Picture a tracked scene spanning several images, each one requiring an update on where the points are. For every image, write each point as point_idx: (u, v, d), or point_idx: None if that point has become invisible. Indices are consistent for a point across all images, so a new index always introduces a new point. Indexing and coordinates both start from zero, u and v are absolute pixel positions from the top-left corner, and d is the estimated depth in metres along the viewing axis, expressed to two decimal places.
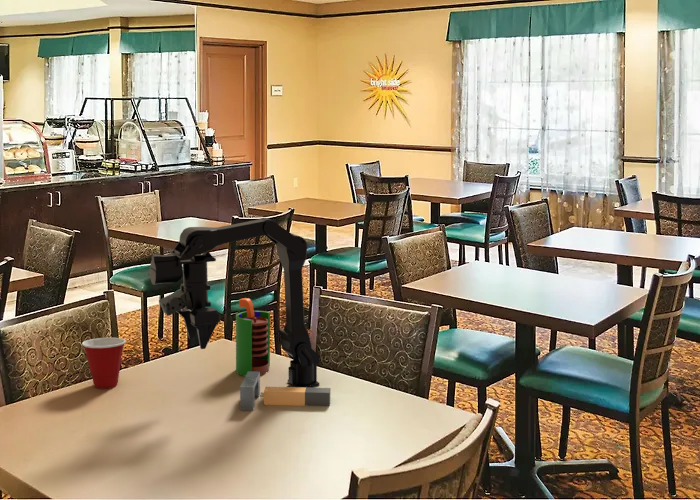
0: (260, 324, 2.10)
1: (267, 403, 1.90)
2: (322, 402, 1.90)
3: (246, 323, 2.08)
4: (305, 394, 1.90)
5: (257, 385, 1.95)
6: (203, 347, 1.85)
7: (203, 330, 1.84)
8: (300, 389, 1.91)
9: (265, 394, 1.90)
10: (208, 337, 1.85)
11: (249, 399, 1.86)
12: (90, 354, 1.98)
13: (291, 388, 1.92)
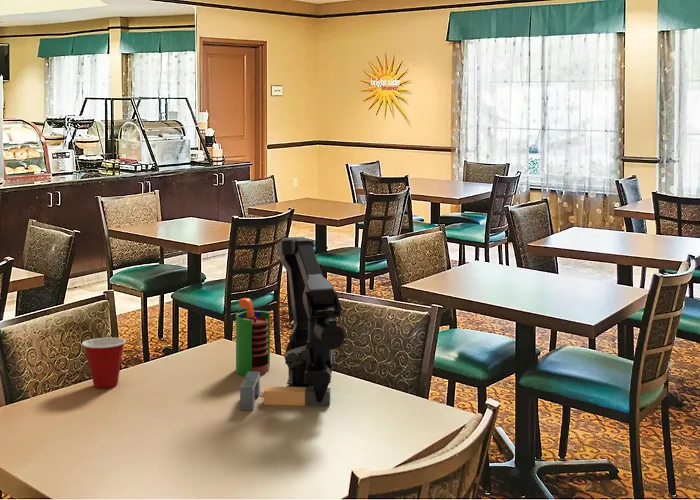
0: (260, 324, 2.10)
1: (267, 403, 1.90)
2: (322, 401, 1.90)
3: (246, 323, 2.08)
4: (305, 394, 1.90)
5: (257, 385, 1.95)
6: (319, 400, 1.89)
7: (318, 385, 1.88)
8: (300, 389, 1.91)
9: (265, 394, 1.90)
10: (323, 392, 1.88)
11: (249, 399, 1.86)
12: (90, 354, 1.98)
13: (291, 388, 1.92)
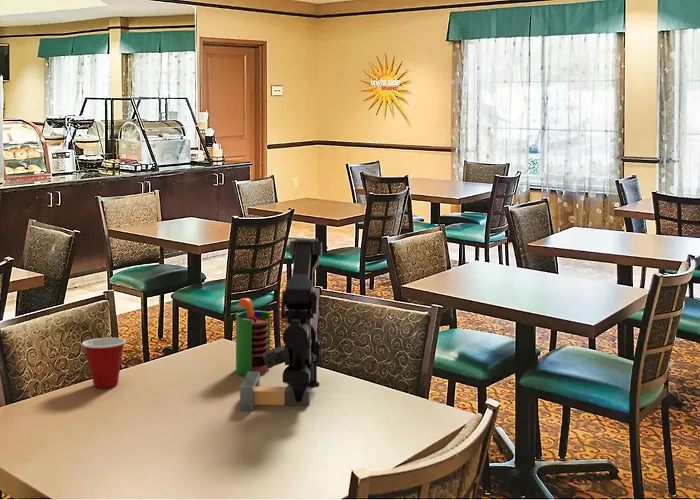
0: (260, 324, 2.10)
1: None
2: (301, 401, 1.90)
3: (246, 323, 2.08)
4: (285, 393, 1.90)
5: (257, 385, 1.95)
6: (298, 400, 1.89)
7: (297, 384, 1.88)
8: (279, 389, 1.91)
9: None
10: (302, 391, 1.88)
11: (249, 399, 1.86)
12: (90, 354, 1.98)
13: (271, 387, 1.92)
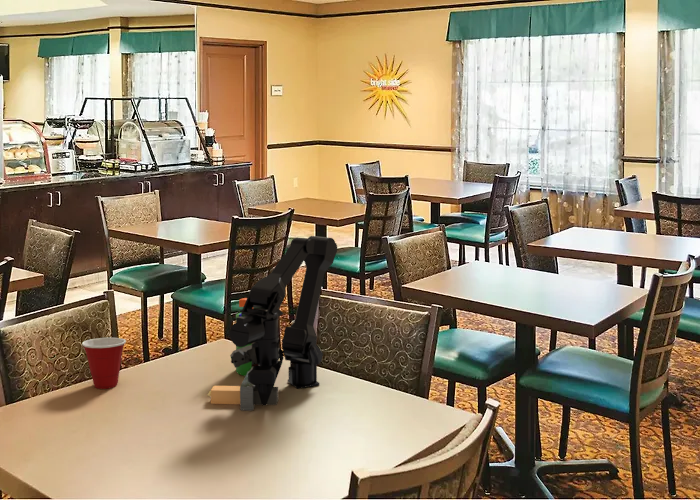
0: None
1: (214, 402, 1.91)
2: (269, 400, 1.90)
3: None
4: None
5: None
6: (264, 403, 1.87)
7: (262, 388, 1.85)
8: None
9: (212, 393, 1.90)
10: (268, 395, 1.86)
11: (249, 399, 1.86)
12: (90, 354, 1.98)
13: (239, 387, 1.93)
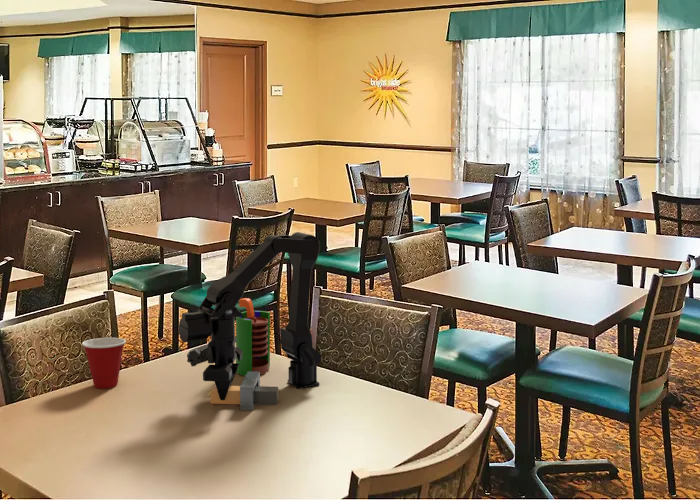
0: (260, 324, 2.10)
1: (214, 402, 1.91)
2: (269, 400, 1.90)
3: (246, 323, 2.08)
4: None
5: (257, 385, 1.95)
6: (222, 398, 1.90)
7: (220, 383, 1.88)
8: None
9: (212, 393, 1.90)
10: (226, 390, 1.89)
11: (249, 399, 1.86)
12: (90, 354, 1.98)
13: (239, 387, 1.93)
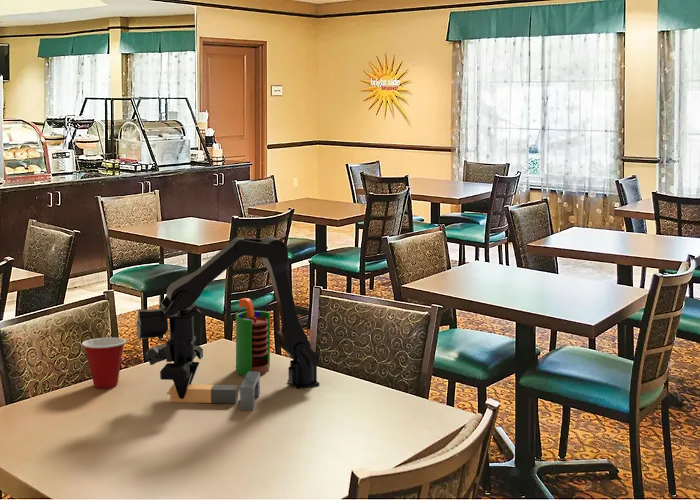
0: (260, 324, 2.10)
1: (173, 400, 1.91)
2: (228, 399, 1.90)
3: (246, 323, 2.08)
4: (211, 391, 1.90)
5: (257, 385, 1.95)
6: (181, 397, 1.90)
7: (179, 381, 1.89)
8: (207, 386, 1.92)
9: (171, 391, 1.91)
10: (184, 388, 1.89)
11: (249, 399, 1.86)
12: (90, 354, 1.98)
13: (198, 385, 1.93)
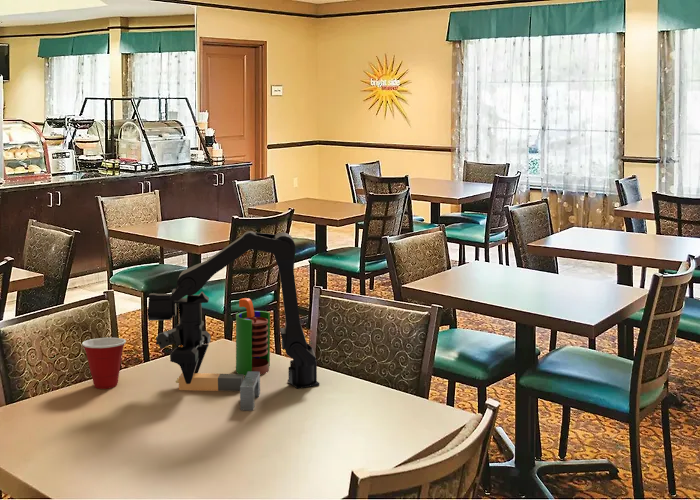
0: (260, 324, 2.10)
1: (182, 388, 2.00)
2: (234, 387, 1.99)
3: (246, 323, 2.08)
4: (218, 380, 1.99)
5: (257, 385, 1.95)
6: (188, 382, 1.97)
7: (186, 367, 1.95)
8: (214, 375, 2.01)
9: (180, 380, 2.00)
10: (191, 374, 1.96)
11: (249, 399, 1.86)
12: (90, 354, 1.98)
13: (206, 374, 2.02)
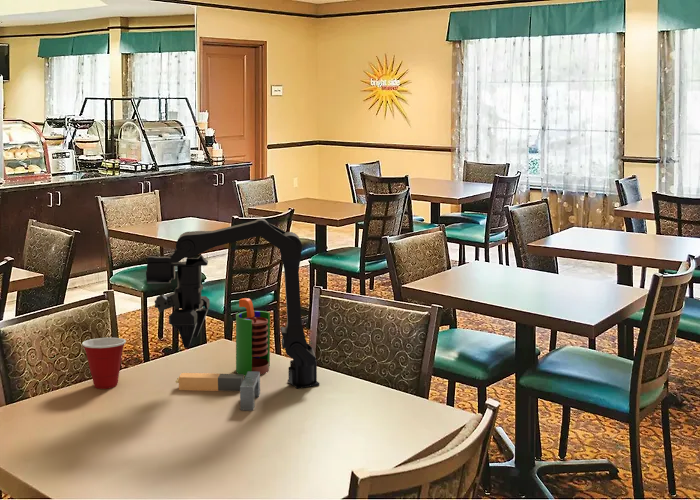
0: (260, 324, 2.10)
1: (182, 388, 2.00)
2: (234, 387, 1.99)
3: (246, 324, 2.08)
4: (218, 380, 1.99)
5: (257, 385, 1.95)
6: (186, 346, 1.95)
7: (184, 331, 1.93)
8: (214, 375, 2.01)
9: (180, 380, 2.00)
10: (189, 337, 1.93)
11: (249, 399, 1.86)
12: (90, 354, 1.98)
13: (206, 374, 2.02)
